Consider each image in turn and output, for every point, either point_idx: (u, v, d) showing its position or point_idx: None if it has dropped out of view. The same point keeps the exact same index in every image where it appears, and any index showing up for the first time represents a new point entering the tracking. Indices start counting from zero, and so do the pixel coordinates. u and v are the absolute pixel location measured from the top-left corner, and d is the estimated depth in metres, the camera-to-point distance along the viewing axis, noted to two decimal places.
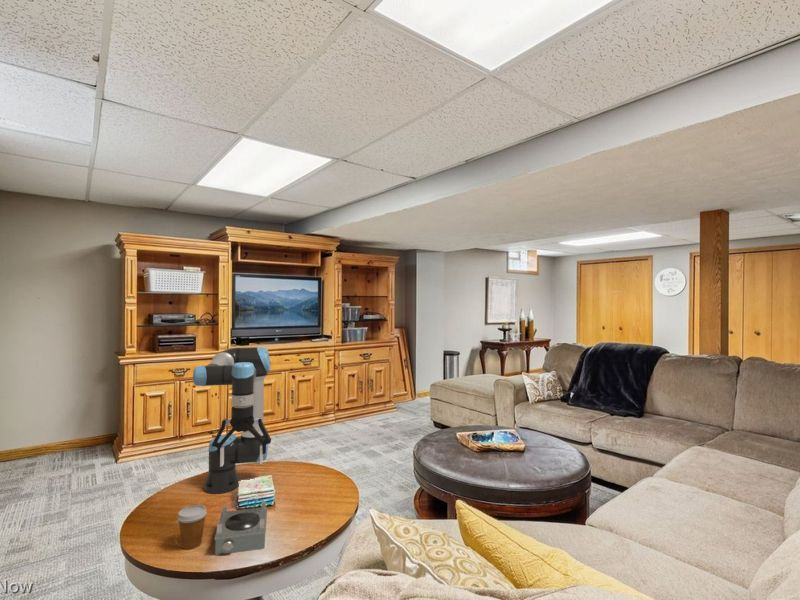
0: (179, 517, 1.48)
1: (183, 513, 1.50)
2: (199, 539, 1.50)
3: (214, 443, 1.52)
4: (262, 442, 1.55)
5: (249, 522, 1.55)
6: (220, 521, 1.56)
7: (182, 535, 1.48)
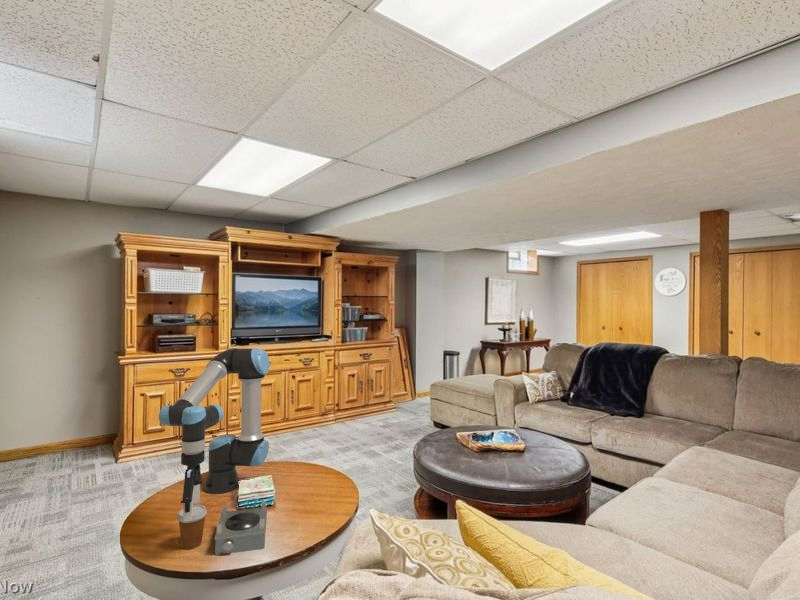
0: (179, 517, 1.48)
1: None
2: (199, 539, 1.50)
3: None
4: None
5: (249, 522, 1.55)
6: (220, 521, 1.56)
7: (182, 535, 1.48)
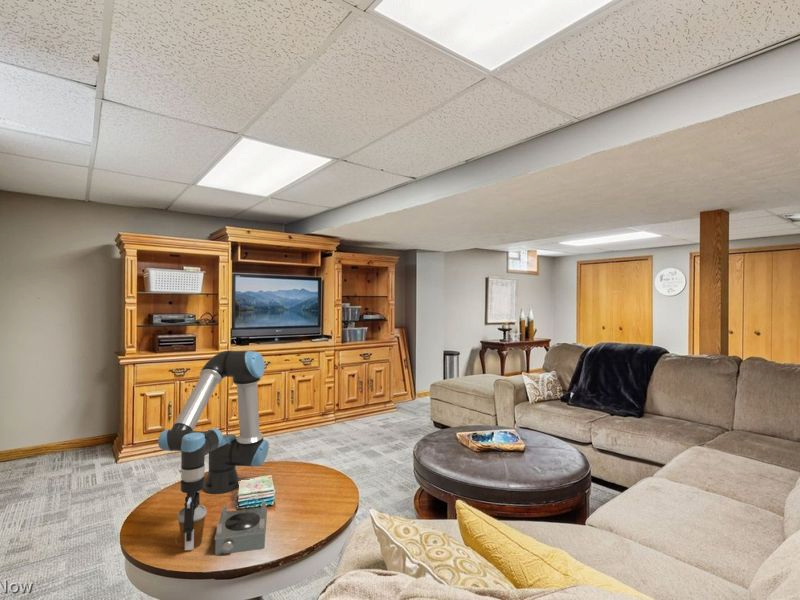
0: (179, 517, 1.48)
1: (183, 513, 1.50)
2: (199, 539, 1.50)
3: None
4: None
5: (249, 522, 1.55)
6: (220, 521, 1.56)
7: (182, 535, 1.48)
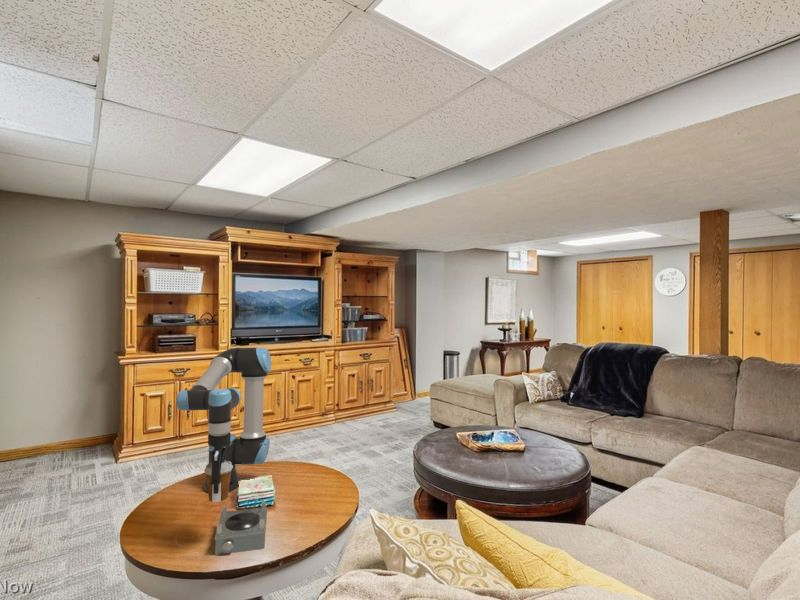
0: (206, 470, 1.51)
1: (210, 467, 1.53)
2: (225, 493, 1.53)
3: None
4: None
5: (249, 522, 1.55)
6: (220, 521, 1.56)
7: (209, 488, 1.51)
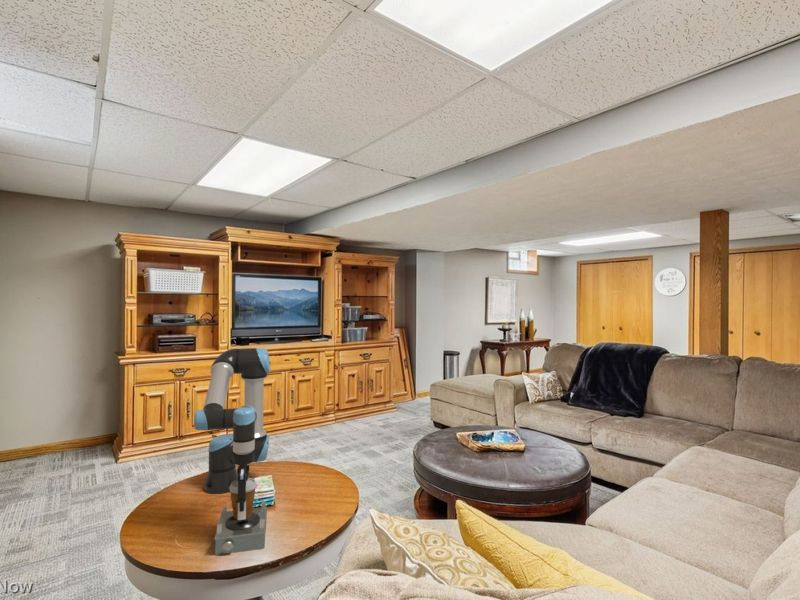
0: (231, 488, 1.53)
1: (234, 485, 1.55)
2: (250, 510, 1.55)
3: None
4: None
5: (249, 522, 1.55)
6: (220, 521, 1.56)
7: (234, 506, 1.53)
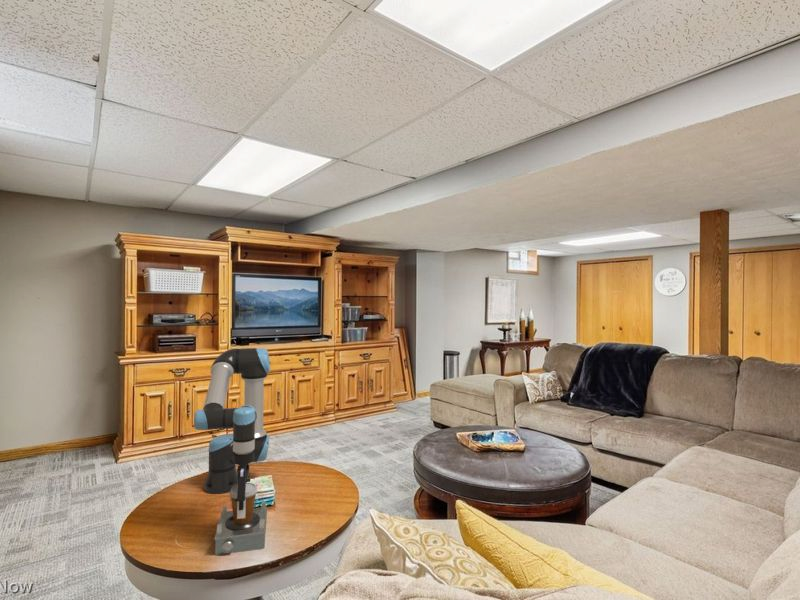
0: (232, 493, 1.53)
1: (235, 489, 1.55)
2: (250, 515, 1.55)
3: None
4: None
5: (249, 522, 1.55)
6: (220, 521, 1.56)
7: (235, 511, 1.53)
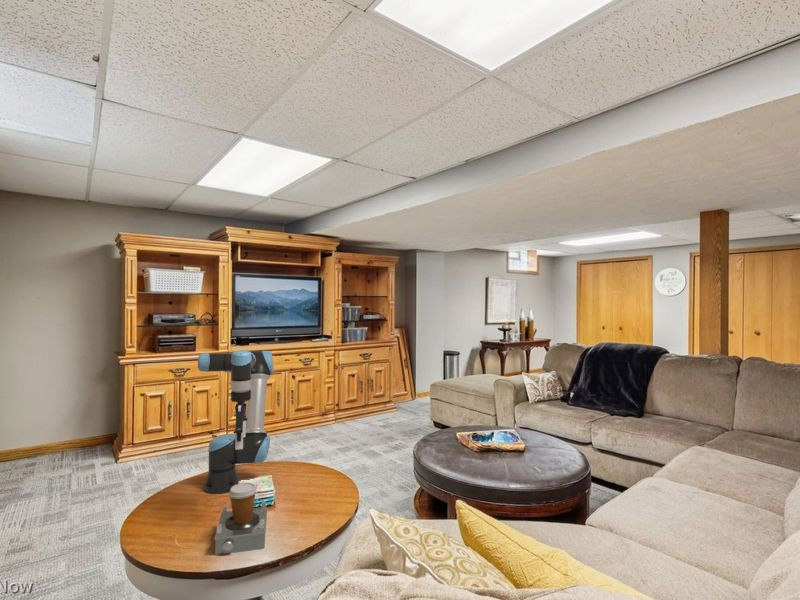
0: (231, 493, 1.53)
1: (234, 489, 1.55)
2: (250, 515, 1.55)
3: None
4: None
5: (249, 522, 1.55)
6: (220, 521, 1.56)
7: (234, 511, 1.53)
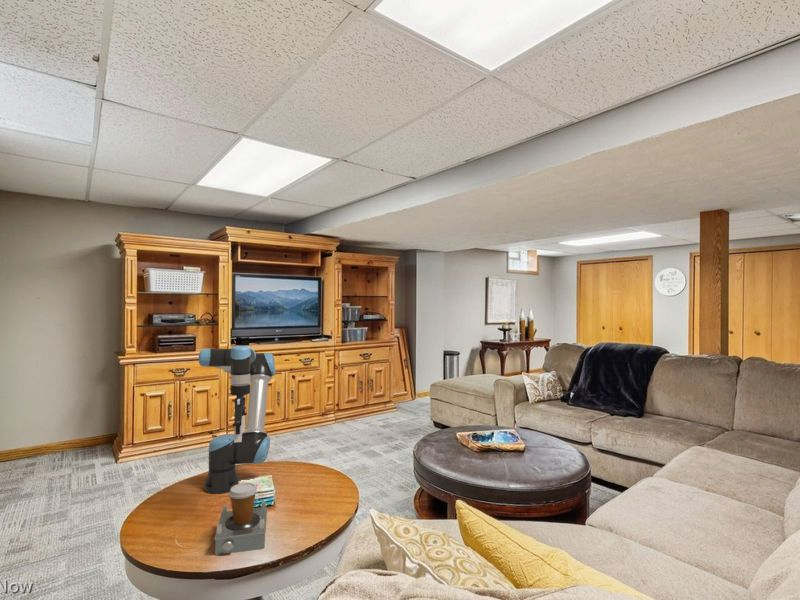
0: (231, 493, 1.53)
1: (234, 490, 1.55)
2: (250, 515, 1.55)
3: None
4: None
5: (249, 522, 1.55)
6: (220, 521, 1.56)
7: (234, 511, 1.53)
